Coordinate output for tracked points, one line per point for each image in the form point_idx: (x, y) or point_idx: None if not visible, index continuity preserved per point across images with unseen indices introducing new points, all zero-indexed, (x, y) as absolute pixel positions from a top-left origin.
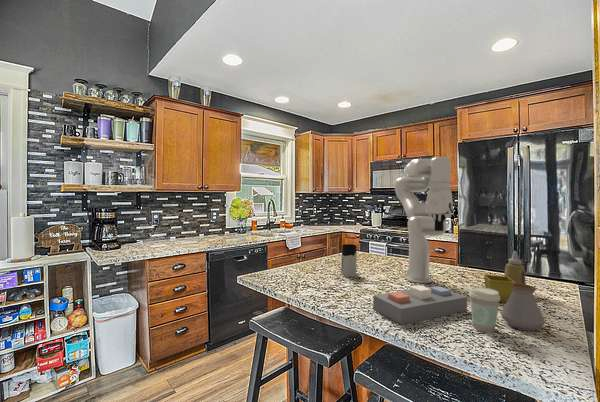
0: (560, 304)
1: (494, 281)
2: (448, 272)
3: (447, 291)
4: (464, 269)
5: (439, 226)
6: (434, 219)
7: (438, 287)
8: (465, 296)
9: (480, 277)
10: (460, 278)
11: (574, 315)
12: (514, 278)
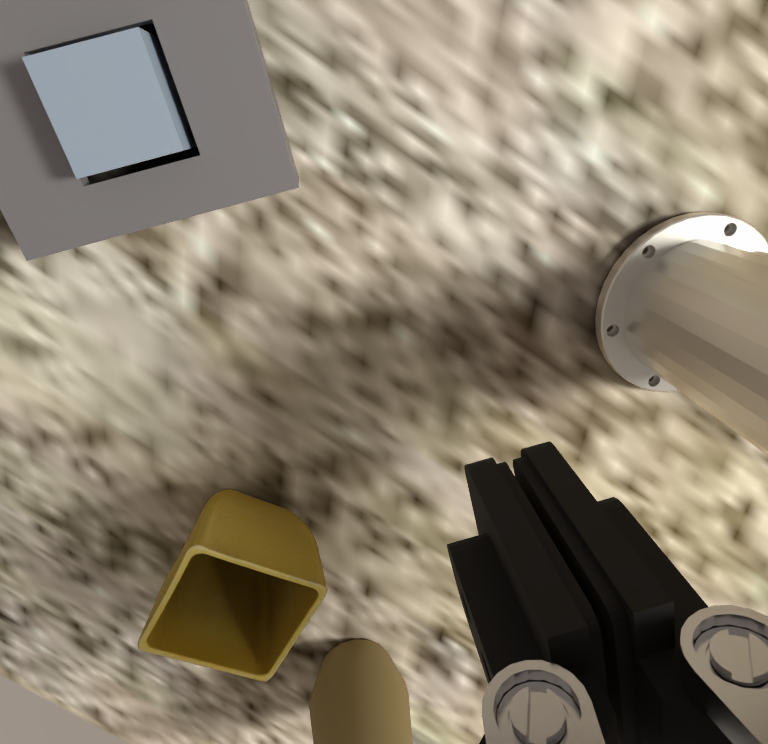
0: (181, 724)
1: (181, 560)
2: (738, 568)
3: (60, 138)
4: None
5: (491, 564)
6: (748, 652)
7: (147, 116)
8: (38, 255)
9: None
10: None
11: (43, 687)
12: (328, 719)
